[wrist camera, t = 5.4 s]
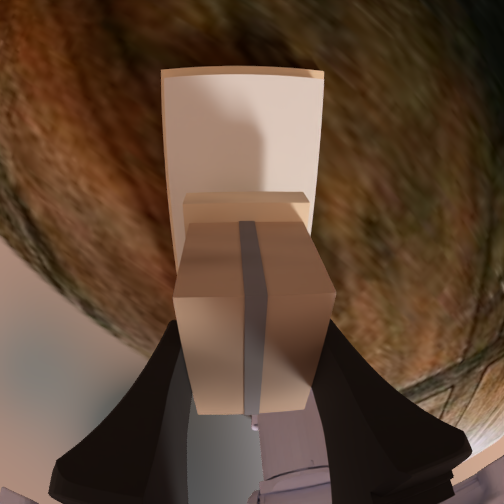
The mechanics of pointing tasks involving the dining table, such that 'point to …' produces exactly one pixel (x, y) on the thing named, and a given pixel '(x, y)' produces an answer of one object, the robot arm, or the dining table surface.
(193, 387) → the taped parcel
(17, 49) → the dining table surface
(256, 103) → the dock
